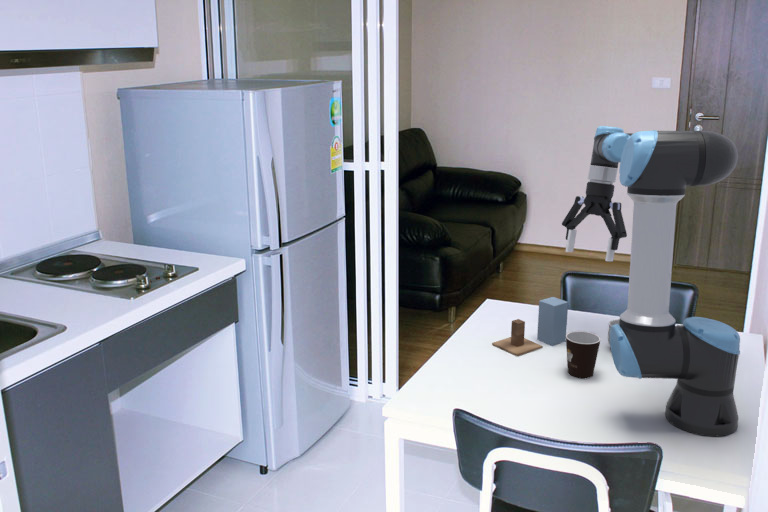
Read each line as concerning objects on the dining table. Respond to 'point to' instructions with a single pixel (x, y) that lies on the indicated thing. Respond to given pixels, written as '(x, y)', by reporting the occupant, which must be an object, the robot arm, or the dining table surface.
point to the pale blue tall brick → (552, 321)
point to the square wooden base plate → (517, 340)
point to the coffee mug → (581, 353)
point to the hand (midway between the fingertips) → (588, 256)
